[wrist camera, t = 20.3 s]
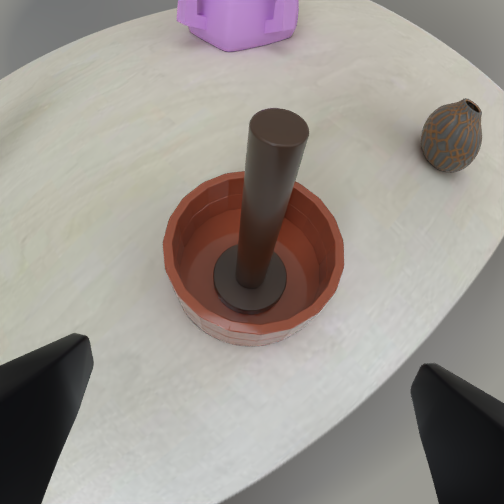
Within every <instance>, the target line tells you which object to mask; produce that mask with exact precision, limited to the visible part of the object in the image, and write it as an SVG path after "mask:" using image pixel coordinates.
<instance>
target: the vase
mask: <svg viewBox="0 0 504 504" xmlns="http://www.w3.org/2000/svg"><path fill="white" fill-rule="evenodd" d="M481 115H482V112H481V109H480V108H479V107H478V106H477V105H476V104H475V103H474V102H473V101H471V100H469V99H466V98H465V99H463V100H461V101H459V102H456V103H451V104H447V105H443V106H441V107H439V108H438V109H436V110H435V111H434V112H433V113H432V114H431V115H430V116H429V117H428V119H427V121H426V122H425V124H424V127H423V130H422V134H421V145H422V149H423V152H424V155H425V157H426V159H427V160H428V161H429V162H430V163H431V164H432V165H433V166H434V167H435V168H437V169H439V170H441V171H445V172H457V171H460V170H462V169H464V168H466V167H467V166H468V165H469V164H470V163H471V162H472V161H473V160H474V159H475V157H476V156H477V154H478V152H479V150H480V147H481V142H482V129H481Z"/></svg>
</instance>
